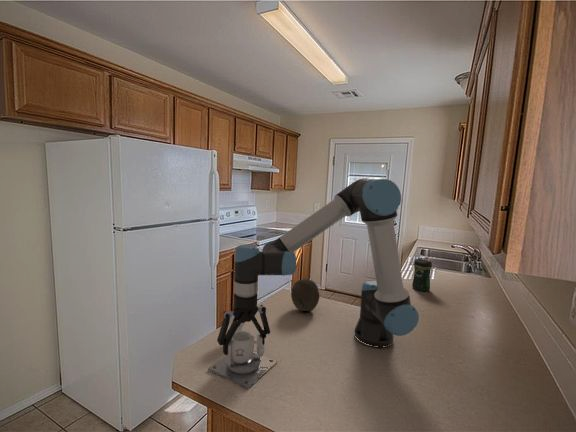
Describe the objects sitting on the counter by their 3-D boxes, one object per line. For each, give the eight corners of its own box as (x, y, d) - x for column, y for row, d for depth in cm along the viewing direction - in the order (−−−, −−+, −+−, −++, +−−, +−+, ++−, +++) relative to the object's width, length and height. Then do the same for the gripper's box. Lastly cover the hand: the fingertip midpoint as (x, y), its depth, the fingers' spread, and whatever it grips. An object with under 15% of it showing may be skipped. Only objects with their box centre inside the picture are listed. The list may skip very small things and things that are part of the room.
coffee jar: (431, 290, 178) (434, 260, 176) (424, 292, 174) (427, 262, 172) (417, 285, 186) (419, 257, 184) (409, 287, 182) (412, 258, 180)
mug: (224, 365, 92) (225, 342, 92) (230, 350, 101) (231, 328, 100) (262, 368, 92) (263, 344, 91) (265, 353, 101) (266, 331, 100)
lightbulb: (227, 336, 115) (228, 309, 114) (242, 333, 117) (243, 307, 116) (230, 344, 109) (231, 316, 108) (246, 341, 112) (247, 313, 111)
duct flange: (277, 362, 99) (277, 357, 99) (247, 389, 86) (247, 383, 85) (240, 347, 107) (240, 342, 107) (207, 370, 94) (208, 364, 93)
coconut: (325, 312, 140) (326, 282, 139) (301, 319, 132) (303, 287, 131) (306, 302, 152) (308, 274, 150) (284, 307, 144) (285, 278, 142)
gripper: (272, 284, 103) (270, 345, 105) (207, 294, 92) (206, 361, 94) (282, 292, 96) (279, 356, 99) (213, 303, 85) (212, 375, 87)
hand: (244, 358), depth 96 cm, fingers closed on mug, 10 cm apart
